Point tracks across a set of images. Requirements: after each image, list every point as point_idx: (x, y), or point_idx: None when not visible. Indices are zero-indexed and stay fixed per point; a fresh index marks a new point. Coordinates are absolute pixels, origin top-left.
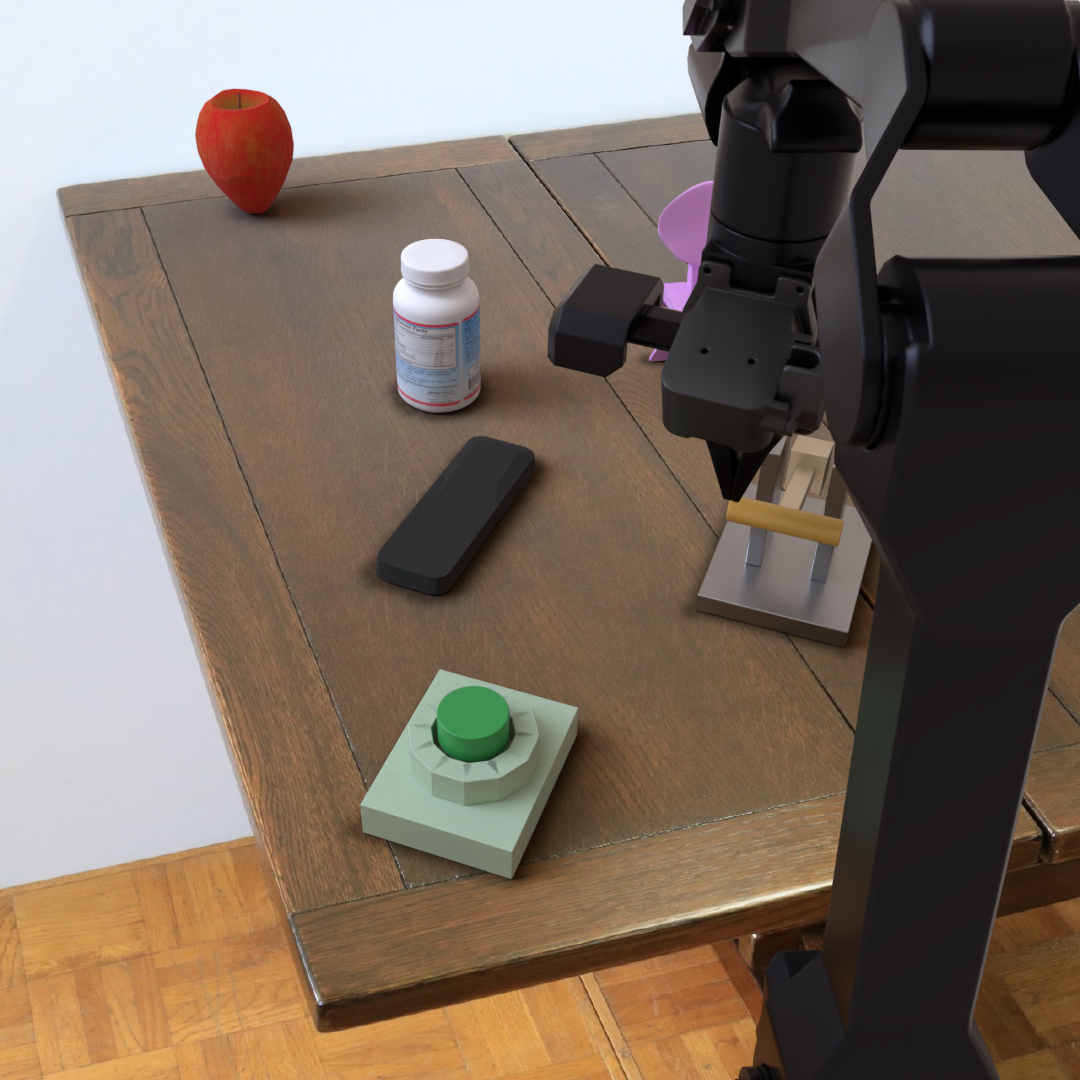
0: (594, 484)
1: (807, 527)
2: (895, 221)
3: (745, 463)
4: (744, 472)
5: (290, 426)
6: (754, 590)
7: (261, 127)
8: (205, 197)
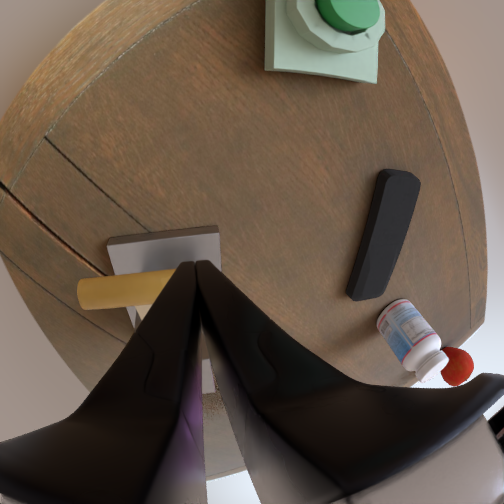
0: (311, 297)
1: (110, 285)
2: (220, 450)
3: (174, 320)
4: (175, 303)
5: (446, 260)
6: (181, 254)
7: (459, 375)
8: (454, 344)
